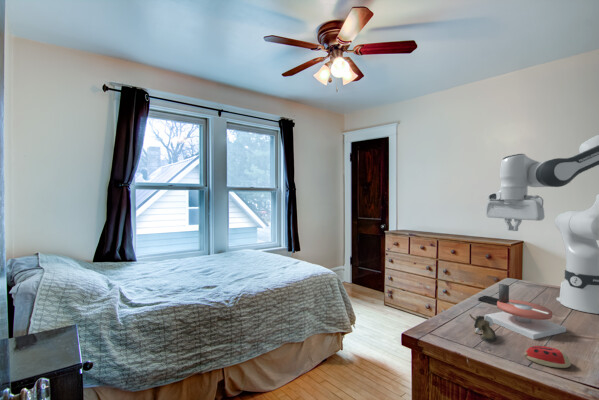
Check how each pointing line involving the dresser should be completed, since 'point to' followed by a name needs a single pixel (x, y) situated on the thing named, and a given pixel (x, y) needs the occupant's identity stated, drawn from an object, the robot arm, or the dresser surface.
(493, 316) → the square base plate
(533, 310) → the handwheel
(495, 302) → the phone
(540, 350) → the ladybug figurine
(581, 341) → the dresser surface
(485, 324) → the eagle figurine
